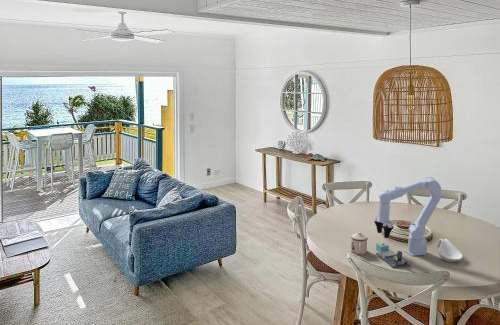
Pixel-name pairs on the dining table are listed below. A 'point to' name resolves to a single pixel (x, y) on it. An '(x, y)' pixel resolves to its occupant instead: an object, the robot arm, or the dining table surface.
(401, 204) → the dining table surface
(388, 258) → the press base
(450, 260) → the spoon rest
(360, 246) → the teacup with lid
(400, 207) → the dining table surface
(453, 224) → the dining table surface
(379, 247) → the block
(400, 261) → the ram lever
